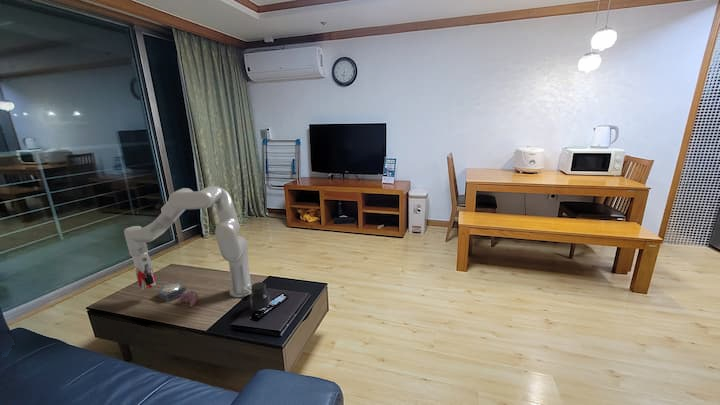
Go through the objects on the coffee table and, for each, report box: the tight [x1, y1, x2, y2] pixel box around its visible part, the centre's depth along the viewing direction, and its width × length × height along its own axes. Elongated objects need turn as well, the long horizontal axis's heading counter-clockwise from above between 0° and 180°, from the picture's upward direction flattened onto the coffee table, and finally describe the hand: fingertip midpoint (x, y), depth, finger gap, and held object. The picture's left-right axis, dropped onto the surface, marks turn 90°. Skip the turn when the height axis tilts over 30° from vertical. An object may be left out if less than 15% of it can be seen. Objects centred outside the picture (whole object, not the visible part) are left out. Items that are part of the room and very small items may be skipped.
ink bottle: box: [249, 281, 271, 312], centre depth 148 cm, size 10×9×12 cm
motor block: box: [156, 281, 187, 303], centre depth 163 cm, size 15×10×4 cm
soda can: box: [135, 268, 156, 291], centre depth 156 cm, size 7×7×12 cm
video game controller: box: [177, 290, 200, 308], centre depth 155 cm, size 10×5×7 cm, turn 71°
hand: (146, 281), depth 156 cm, fingers closed on soda can, 7 cm apart
